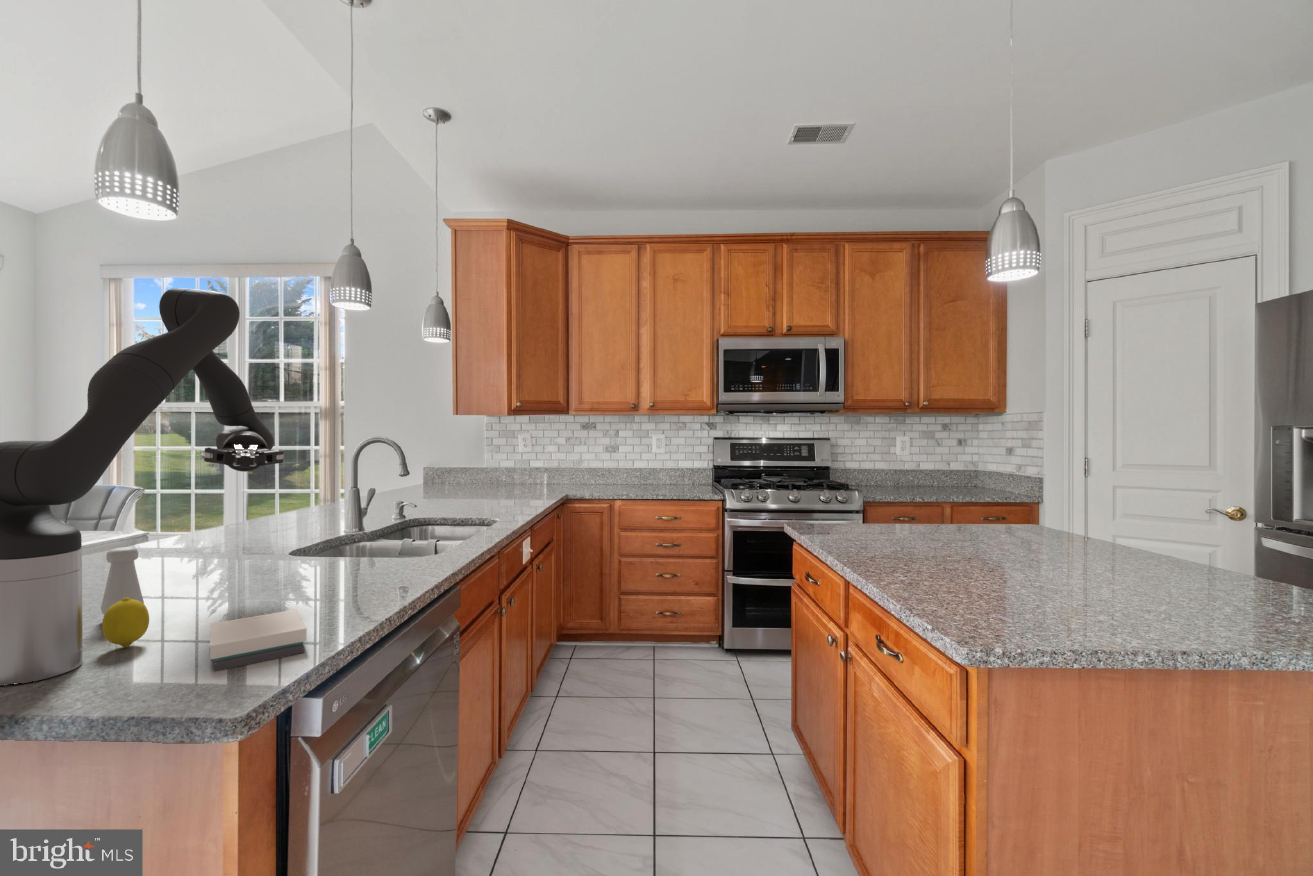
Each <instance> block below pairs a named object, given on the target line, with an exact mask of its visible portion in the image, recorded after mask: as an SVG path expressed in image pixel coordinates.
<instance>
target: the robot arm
mask: <svg viewBox="0 0 1313 876" xmlns="http://www.w3.org/2000/svg"><path fill="white" fill-rule="evenodd" d="M158 308H159V309H158V310H159V315H160V318H161V321H162V323H163V325H164V327H165V329H166V331H167V332H165V333H163V334H160V335H156V336H153V337H150V338H148V339H145V340H141V341H139V342H137V343H135V344H132V345H130V346H127V347H125V348H124V349H122V350H120V351H118V352H117V353H116V354H115V355H113V356H112V357H111V358H110V359H108V361H107V362H105V363H104V365H102V366H100V368H98V370H97V371H96V372H95V373H94V374H93V375H92V377H91V378H90V380H89V383H88V387H87V410H86V412H85V413H84V414H83V416H82V417H81V418H80V419H78V421H77V422H76V423H75V424H74V425H73V426H71V428H70V429H69V430H67V431H66V432H65V433H64V434H62V435H60V436H59V437H58V438H55V439H53V440H8V441H1V442H0V686H7V685H6V684H14V683H22V684H27V683H31V682H32V681H33V682H37V681H41V680H42V681H43V680H46V679H49V678H53V677H56V676H60V675H62V674H65V673H67V672H71V671H73V670H75V669H76V668H79V667H80V666H81V665H82V664H83V652H84V648H83V647H84V646H83V565H82V563H83V559H82V558H83V553H82V552H83V548H82V547H83V546H82V545H83V544H82V543H83V542H82V541H83V540H82V532H81V531H80V530H79V529H78V528H77V527H74V526H72V525H69V524H67V523H65V522H63V521H61V520H60V519H58V518H57V517H56V516H55V515H54V514H53V513H52V511H51V510H52V509H51V506H60V505H65V504H66V505H67V504H70V503H74V502H76V501H78V500H79V499H80V498H83V497H84V496H85V495H87V494H88V493H89V492H90V491H91V490H92V488H93V487H95V485H96V484H97V483H98V481H99V480H100V479H101V477H102V476H103V475H104V473H105V472H106V470H107V469H108V468H109V466H110V464H111V463H112V462H113V460H114V459H115V457H116V456H117V455H118V453H119V452H120V450H121V449H122V448H123V446H124V445H125V443H126V442H127V441H128V440H129V439H130V438H131V436H132V435H133V434H134V433H135V432H136V431H137V429H138V428H139V427H140V426H141V425H142V424H143V423H144V421H146V419H147V418H148V416H150V415H151V413H153V411H155V410H156V409H157V408H158V407H159V405H161V404H162V402H163V401H164V400H166V399H167V397H168V396H169V395H170V394H171V393H172V392H173V391H174V390H175V388H176V387H177V386H178V385H179V383H180V382H181V381H182V380H183V379H184V378H185V377H186V376H187V375H188V374H189V373H190V372H191V371H193V372H194V374H195V375H196V377H197V379H198V381H199V382H200V384H201V387H202V388H203V390H204V392H205V395H206V397H207V400H208V402H209V405H210V407H211V409H212V411H213V412H212V413H213V414H214V417H215V420H216V421H217V422H218V424H220V425H221V426H226V427H236V428H232V429H227V430H223V431H221V432H219V433H218V434H217V436H216V438H215V445H216V448H213V447H205V448H204V456H203V457H204V458H203V459H204V461H203V462H205V463H214V464H219V465H225V466H227V467H228V468H230V469H232V470H234V471H237V472H242V473H243V472H244V473H245V472H251V471H252V472H253V471H255V470H257V469H259V468H261V467H262V466H263V467H264V466H269V465H276V464H277V465H278V464H283V463H284V457H285V455H284V454H285V451H284V450H283V449H276V450H273V447H274V445H275V440H274V436H273V434H272V432H271V431H270V429H269V428H268V427H267V425H266V424H265V423H263V421H262V420H261V419H260V417H259V416H258V414H257V413H256V411H255V409H254V406H253V403H252V401H251V398H250V396H249V393H248V390H247V388H246V386H245V384H244V382H243V380H242V379H241V378H240V377H239V376H238V374H237V373H236V372H234V370H233V369H232V368H230V366H229V365H227V364H226V363H225V362H224V361H223V360H222V359H221V358H220V357H219V356H218V355H217V354H216V352H214V350H215V349H216V348H217V347H219V346H220V345H221V344H223V343H224V342H225V341H226V340H227V339H228V338H229V337H230V336H231V335H232V334H233V333H234V332H235V330H236V328H237V327H238V324H239V320H240V315H241V314H240V308H239V305H238V303H237V301H236V300H235V299H234V298H233V297H231V296H230V295H228V294H226V293H223V292H219V291H214V290H207V289H196V288H195V289H194V288H185V287H184V288H183V287H176V288H174V287H173V288H170V289H168V290H166V291H165V292H163V294H162V295H161V297H160V300H159V305H158ZM4 684H5V685H4ZM14 685H15V684H14Z"/></svg>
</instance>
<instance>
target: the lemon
mask: <svg viewBox="0 0 1313 876" xmlns="http://www.w3.org/2000/svg"><path fill="white" fill-rule="evenodd" d="M149 614H150V613H149V609H148V607H147V606H146V605H145V603H144V604H143V603H142V602H140V601H138V600H134V599H130V598H129V597H127V598H123V599H122V600H121V601H119V602H117V603H115V604H113V605H112V606H111V607H110V608H109V609H108V610H107V611H106V613H105V615H104V614H103V619H102V623H101V631H102V634H103V637H104V639H106V640H107V641H108V642H109V643H110V644H114V645H119V646H120V647H122V648H128V647H130V646H131V645H132V644H133V643H134V642H136V641H138V640H139V639H141V638H142V637H143V636H144V635H145V633H146V632H147V630H148V628H149V625H150V615H149Z"/></svg>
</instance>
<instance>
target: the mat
mask: <svg viewBox="0 0 1313 876" xmlns="http://www.w3.org/2000/svg"><path fill="white" fill-rule="evenodd" d="M304 648H305V647H304V643H303V644H300V645H295V646H289V647H284V648H279V649H274V650H269V651H264V652H259V653H254V654H249V655H244V656H239V657H234V658H229V659H224V660H219V661H214V672H216V671H222V670H226V669H227V670H228V669H232V668H236V667H242V666H245V665H247V666H248V665H251V663H252V664H256V663H262V662H266V661H271V660H275V659H281V658H284V657H283V656H286V657H290V655H291V656H294V655H293V654H295V655H300V654H303V653H305V649H304ZM299 653H300V654H299ZM261 661H262V662H261ZM241 665H242V666H241Z"/></svg>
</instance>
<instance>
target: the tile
mask: <svg viewBox="0 0 1313 876" xmlns="http://www.w3.org/2000/svg"><path fill="white" fill-rule="evenodd" d="M307 632H308V631H307V626H306V625H305V622H304V620H303V618H302V616H301V614H300V612H299V610H298V609H290V610H284V611H279V612H274V613H266V614H261V615H254V616H249V617H242V618H236V619H231V620H224V621H218V622H212V623H209V646H210V647H209V653H210V657H209V658H210V660H213V662H215V661H219V660H224V659H229V658H234V657H239V656H244V655H249V654H254V653H259V652H264V651H269V650H274V649H279V648H284V647H289V646H295V645H300V644H303V645H304V642H307V640H308V639H307V637H308V636H307Z"/></svg>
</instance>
